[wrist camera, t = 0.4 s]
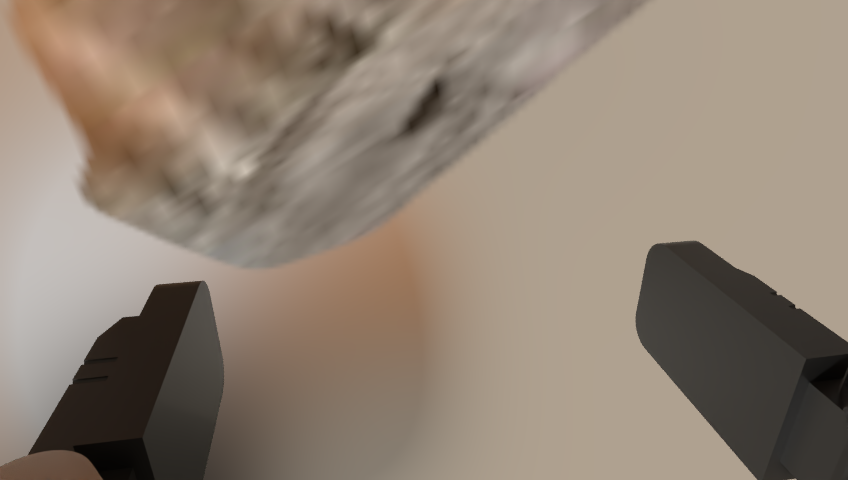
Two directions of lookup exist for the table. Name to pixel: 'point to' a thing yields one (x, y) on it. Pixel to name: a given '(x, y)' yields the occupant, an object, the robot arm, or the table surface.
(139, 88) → the table surface
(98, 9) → the table surface
